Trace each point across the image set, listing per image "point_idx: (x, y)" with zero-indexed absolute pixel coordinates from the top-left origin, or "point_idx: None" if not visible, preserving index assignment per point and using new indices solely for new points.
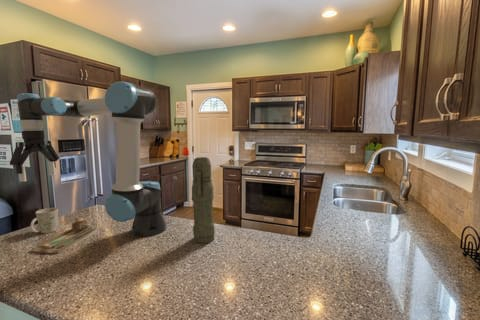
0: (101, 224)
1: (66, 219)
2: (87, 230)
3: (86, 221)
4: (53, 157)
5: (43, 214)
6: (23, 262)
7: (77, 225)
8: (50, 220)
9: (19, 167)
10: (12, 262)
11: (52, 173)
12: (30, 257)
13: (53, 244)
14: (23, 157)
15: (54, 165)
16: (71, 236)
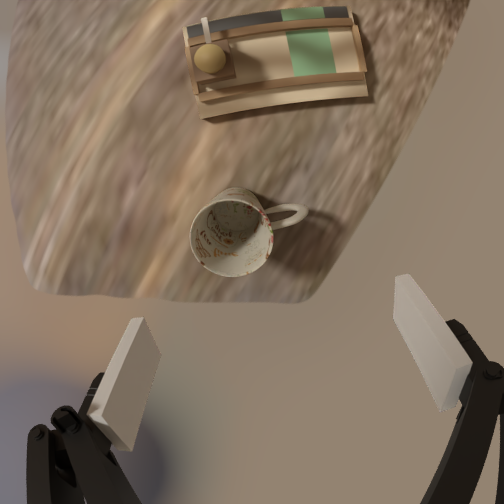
0: (125, 85)
1: (145, 262)
2: (211, 33)
3: (191, 47)
4: (73, 455)
5: (263, 212)
6: (409, 56)
7: (229, 50)
8: (243, 194)
9: (480, 359)
10: (418, 85)
11: (145, 342)
12: (388, 63)
13: (331, 48)
14: (486, 453)
15: (103, 382)
16: (279, 29)
